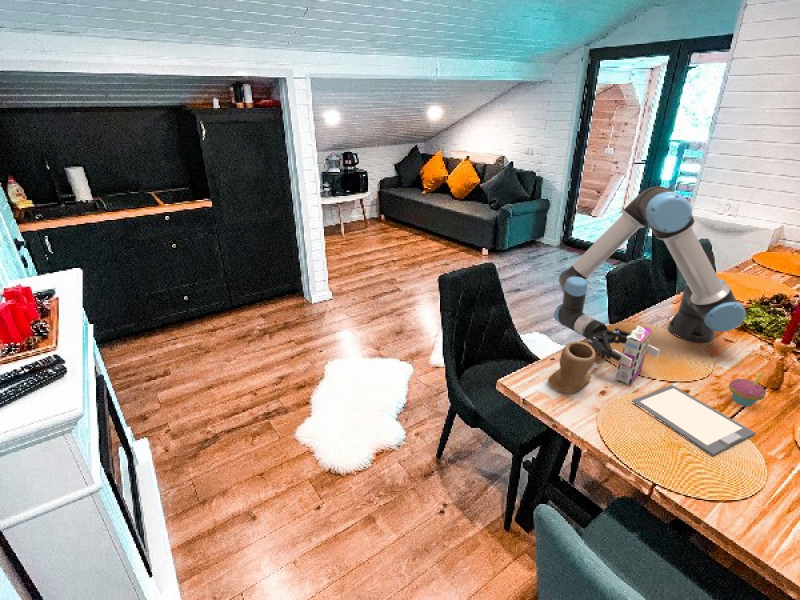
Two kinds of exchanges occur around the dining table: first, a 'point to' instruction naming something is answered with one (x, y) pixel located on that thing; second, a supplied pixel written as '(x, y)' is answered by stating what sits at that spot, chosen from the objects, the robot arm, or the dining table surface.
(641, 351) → the candy bar box
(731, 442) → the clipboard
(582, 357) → the stone cup
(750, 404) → the cupcake
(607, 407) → the dining table surface
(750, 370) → the dining table surface
